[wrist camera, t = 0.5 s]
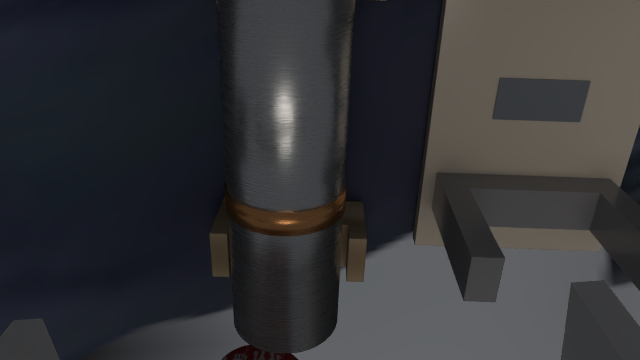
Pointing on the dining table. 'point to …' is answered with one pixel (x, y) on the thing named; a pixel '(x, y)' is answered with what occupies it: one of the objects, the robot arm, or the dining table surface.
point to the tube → (285, 164)
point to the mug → (256, 354)
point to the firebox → (530, 134)
